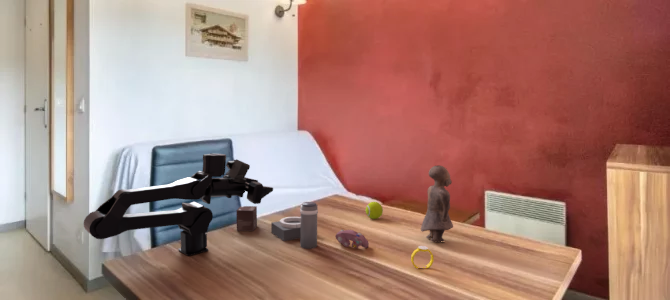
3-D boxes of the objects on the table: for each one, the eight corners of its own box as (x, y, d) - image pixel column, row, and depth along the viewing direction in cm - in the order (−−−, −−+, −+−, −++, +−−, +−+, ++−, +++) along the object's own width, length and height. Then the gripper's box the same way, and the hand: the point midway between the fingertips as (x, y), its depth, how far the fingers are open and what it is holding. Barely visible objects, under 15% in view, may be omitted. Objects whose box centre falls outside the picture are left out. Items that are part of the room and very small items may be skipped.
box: (253, 231, 139) (253, 210, 138) (236, 230, 139) (236, 210, 138) (257, 226, 145) (257, 206, 144) (240, 225, 145) (240, 205, 144)
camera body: (283, 241, 129) (283, 226, 129) (271, 232, 138) (271, 219, 137) (316, 235, 136) (316, 221, 135) (302, 227, 144) (302, 214, 144)
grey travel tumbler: (308, 250, 122) (308, 206, 120) (296, 245, 126) (296, 203, 124) (320, 245, 126) (321, 203, 124) (309, 241, 129) (309, 200, 128)
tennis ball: (362, 216, 159) (363, 200, 158) (378, 215, 161) (378, 199, 160) (369, 221, 153) (369, 204, 152) (385, 220, 155) (385, 203, 154)
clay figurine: (459, 246, 127) (463, 168, 125) (430, 248, 125) (434, 169, 123) (440, 233, 140) (444, 162, 137) (413, 235, 138) (416, 163, 135)
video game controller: (336, 249, 127) (332, 233, 124) (342, 239, 130) (338, 223, 127) (365, 255, 123) (361, 238, 119) (370, 245, 126) (367, 228, 122)
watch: (430, 266, 112) (432, 246, 111) (433, 271, 109) (436, 249, 108) (409, 265, 111) (411, 245, 110) (412, 269, 108) (414, 248, 108)
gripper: (241, 169, 116) (285, 168, 127) (212, 155, 130) (253, 156, 140) (236, 205, 118) (279, 202, 129) (207, 188, 131) (249, 186, 142)
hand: (265, 185), depth 135 cm, fingers open, 9 cm apart
